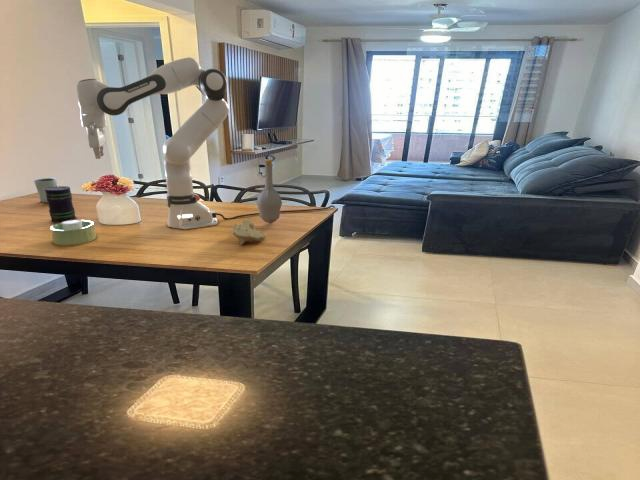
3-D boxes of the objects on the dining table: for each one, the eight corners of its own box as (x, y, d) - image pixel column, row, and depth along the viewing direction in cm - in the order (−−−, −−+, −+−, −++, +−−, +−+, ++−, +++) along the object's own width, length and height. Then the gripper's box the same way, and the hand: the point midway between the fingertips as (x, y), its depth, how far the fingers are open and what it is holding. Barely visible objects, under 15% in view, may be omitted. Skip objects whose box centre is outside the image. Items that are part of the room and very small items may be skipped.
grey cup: (59, 201, 213) (55, 180, 209) (37, 203, 208) (32, 181, 204) (60, 198, 221) (56, 177, 217) (39, 199, 216) (34, 178, 212)
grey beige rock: (256, 239, 164) (227, 220, 158) (267, 229, 161) (238, 209, 155) (253, 262, 152) (222, 242, 145) (265, 251, 149) (233, 230, 142)
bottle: (275, 228, 174) (274, 162, 164) (253, 225, 177) (251, 160, 168) (285, 222, 184) (285, 159, 174) (264, 219, 187) (262, 157, 178)
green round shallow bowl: (98, 232, 162) (95, 219, 160) (93, 243, 150) (90, 228, 148) (57, 236, 157) (55, 222, 155) (49, 247, 144) (46, 232, 142)
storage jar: (56, 223, 173) (49, 191, 168) (47, 219, 179) (40, 188, 174) (79, 219, 181) (73, 188, 176) (71, 215, 186) (65, 185, 182)
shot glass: (75, 241, 149) (72, 224, 147) (60, 240, 151) (56, 223, 148) (88, 236, 156) (85, 220, 154) (74, 235, 157) (71, 218, 155)
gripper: (100, 123, 145) (105, 160, 150) (105, 121, 163) (110, 154, 168) (80, 123, 143) (87, 160, 148) (89, 121, 161) (94, 154, 165)
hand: (99, 157), depth 158 cm, fingers open, 8 cm apart
